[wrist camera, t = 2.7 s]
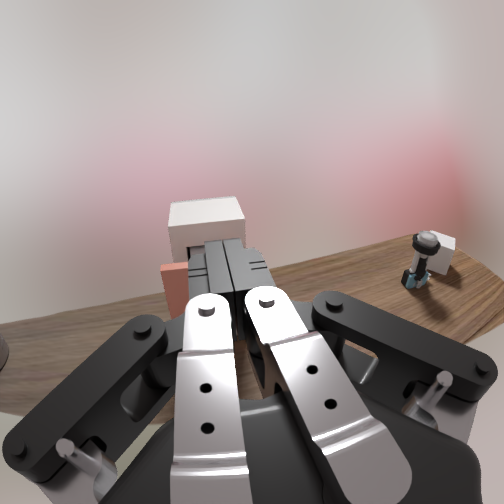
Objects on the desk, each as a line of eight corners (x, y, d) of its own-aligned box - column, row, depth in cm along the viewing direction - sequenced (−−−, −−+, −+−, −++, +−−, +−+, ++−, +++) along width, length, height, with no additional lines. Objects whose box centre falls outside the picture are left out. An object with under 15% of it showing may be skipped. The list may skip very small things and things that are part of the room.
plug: (262, 324, 30) (264, 259, 26) (175, 335, 28) (160, 270, 24) (249, 282, 36) (248, 222, 32) (175, 290, 35) (165, 231, 31)
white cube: (447, 262, 54) (455, 238, 50) (445, 276, 50) (454, 250, 46) (423, 254, 57) (430, 229, 54) (420, 266, 53) (428, 240, 50)
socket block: (247, 333, 39) (245, 218, 31) (189, 340, 38) (167, 226, 29) (239, 301, 45) (235, 196, 37) (187, 307, 44) (171, 202, 35)
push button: (420, 273, 51) (434, 227, 45) (436, 289, 46) (452, 241, 41) (395, 277, 50) (408, 229, 44) (410, 295, 45) (427, 244, 40)
